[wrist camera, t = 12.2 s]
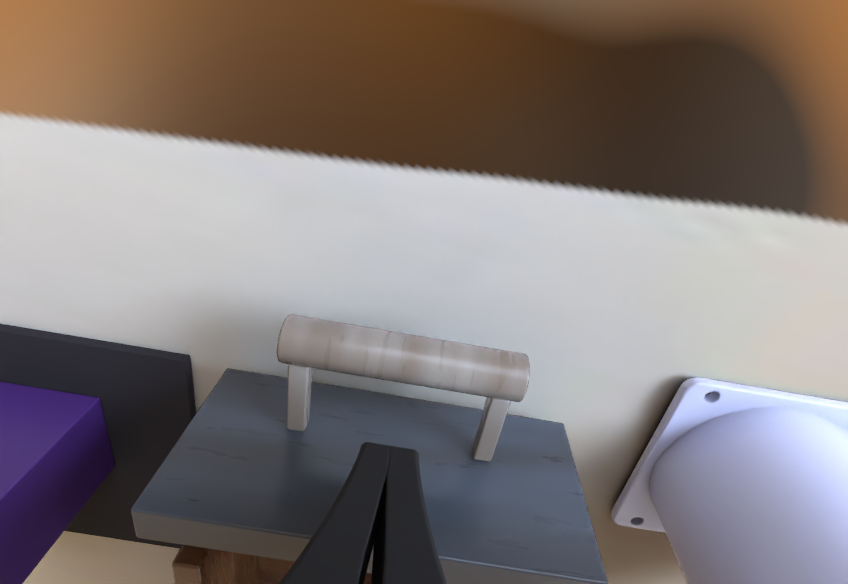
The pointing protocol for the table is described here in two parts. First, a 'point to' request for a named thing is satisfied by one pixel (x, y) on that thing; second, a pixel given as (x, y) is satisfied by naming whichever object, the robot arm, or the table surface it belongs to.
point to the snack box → (45, 469)
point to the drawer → (338, 449)
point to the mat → (110, 410)
